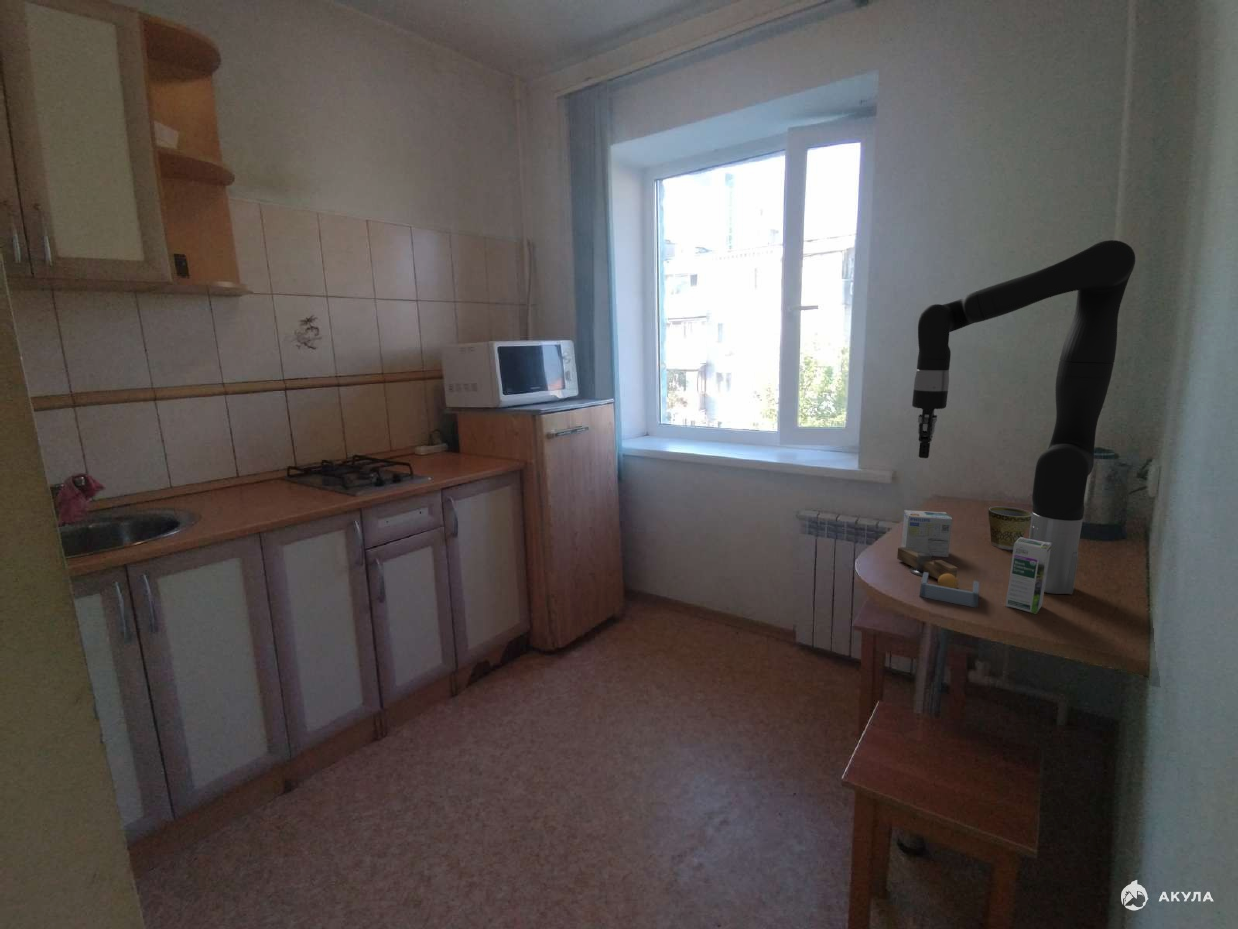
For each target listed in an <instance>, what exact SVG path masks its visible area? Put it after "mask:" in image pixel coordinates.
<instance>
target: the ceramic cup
mask: <svg viewBox="0 0 1238 929" xmlns="http://www.w3.org/2000/svg"><path fill="white" fill-rule="evenodd" d="M987 509H988V510H987V512H988V513H987V514H988V523H989V532H990V544H991V546H994V547H995V548H998V549H1002V550H1008V551H1013V548H1014V543H1015V542H1016V541H1017V540H1018V539H1019V538H1020V537H1023V538H1024V536H1025V533H1026V530H1027V529H1028V528H1029V526H1030V522H1031V515H1032V512H1030V511H1029V510H1025V509H1021V508H1017V507H1013V506H1012V507H1010V506H1000V505H999V506H991V507H988V508H987Z"/></svg>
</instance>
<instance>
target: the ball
mask: <svg viewBox="0 0 1238 929" xmlns="http://www.w3.org/2000/svg"><path fill="white" fill-rule="evenodd" d="M937 585H938V586H944V587H949V588H955V589H958V587H959V581H958V577H955V576H953V575H952V574H943V575H941V576H940V577H939V579H937Z"/></svg>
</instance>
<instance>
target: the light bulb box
mask: <svg viewBox="0 0 1238 929" xmlns="http://www.w3.org/2000/svg"><path fill="white" fill-rule="evenodd" d="M952 523H953V518H952V516H950V515H949V514H948V513H947V512H945V511H925V510H909V509H904V515H903V525H902V526H903V527H902V535H901V547H906V548H908V549H910V550H912V551H914V552H916V553H918V554H919V553H926V554H929V555H931V556H932V557H939V558H940V557H941V558H948V557H949V555H950V543H951V535H952V527H953V526H952Z"/></svg>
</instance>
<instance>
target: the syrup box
mask: <svg viewBox="0 0 1238 929" xmlns="http://www.w3.org/2000/svg"><path fill="white" fill-rule="evenodd" d="M1050 550H1051V543H1049V542H1042V541H1037V540H1032V539H1028V537H1027V538H1025V537H1024V536H1023V537H1020V538H1019V539H1018V540H1017V541H1016V542H1015V543H1014V548H1013V550H1012V555H1011V556H1012V557H1011V564H1010V573H1009V579H1008V581H1009V582H1008V588H1007V593H1006V598H1005V607H1007V608H1014V609H1017V610H1020V611H1024V612H1028V613H1031V614H1034V615H1037V614H1038V613H1039V611H1040V609H1041V607H1042V606H1043V601H1044V594H1045V592H1044V589H1045V583H1046V576H1047V570H1048V563H1049V557H1050Z"/></svg>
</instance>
